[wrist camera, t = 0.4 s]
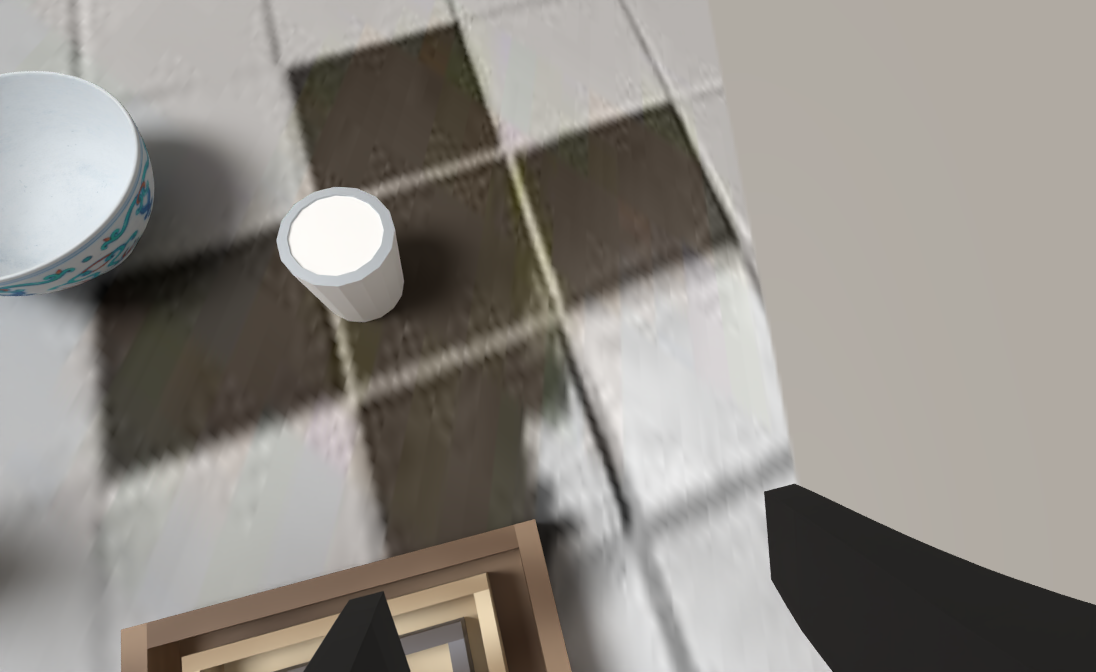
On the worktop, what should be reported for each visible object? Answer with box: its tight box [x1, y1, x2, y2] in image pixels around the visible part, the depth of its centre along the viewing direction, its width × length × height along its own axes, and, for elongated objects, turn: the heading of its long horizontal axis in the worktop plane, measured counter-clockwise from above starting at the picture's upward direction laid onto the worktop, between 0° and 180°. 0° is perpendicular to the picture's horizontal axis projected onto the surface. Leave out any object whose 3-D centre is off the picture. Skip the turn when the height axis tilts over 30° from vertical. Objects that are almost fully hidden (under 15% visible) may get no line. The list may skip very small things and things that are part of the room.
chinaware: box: [0, 71, 154, 296], centre depth 37 cm, size 15×15×8 cm
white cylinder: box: [277, 187, 404, 322], centre depth 38 cm, size 7×7×7 cm
